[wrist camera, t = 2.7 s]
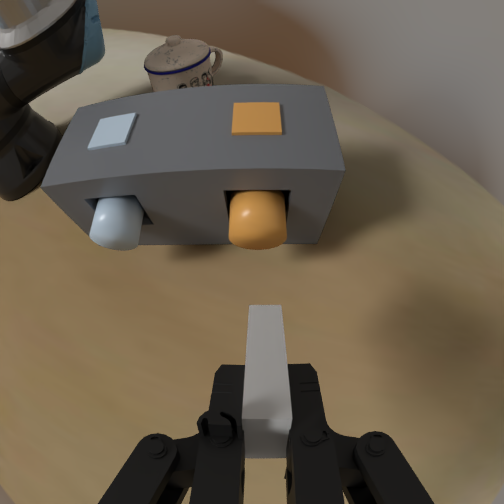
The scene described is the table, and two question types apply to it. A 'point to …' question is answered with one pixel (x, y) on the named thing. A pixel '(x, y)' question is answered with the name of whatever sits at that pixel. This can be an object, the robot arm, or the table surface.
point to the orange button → (257, 219)
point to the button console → (201, 159)
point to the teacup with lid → (182, 64)
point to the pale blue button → (117, 222)
